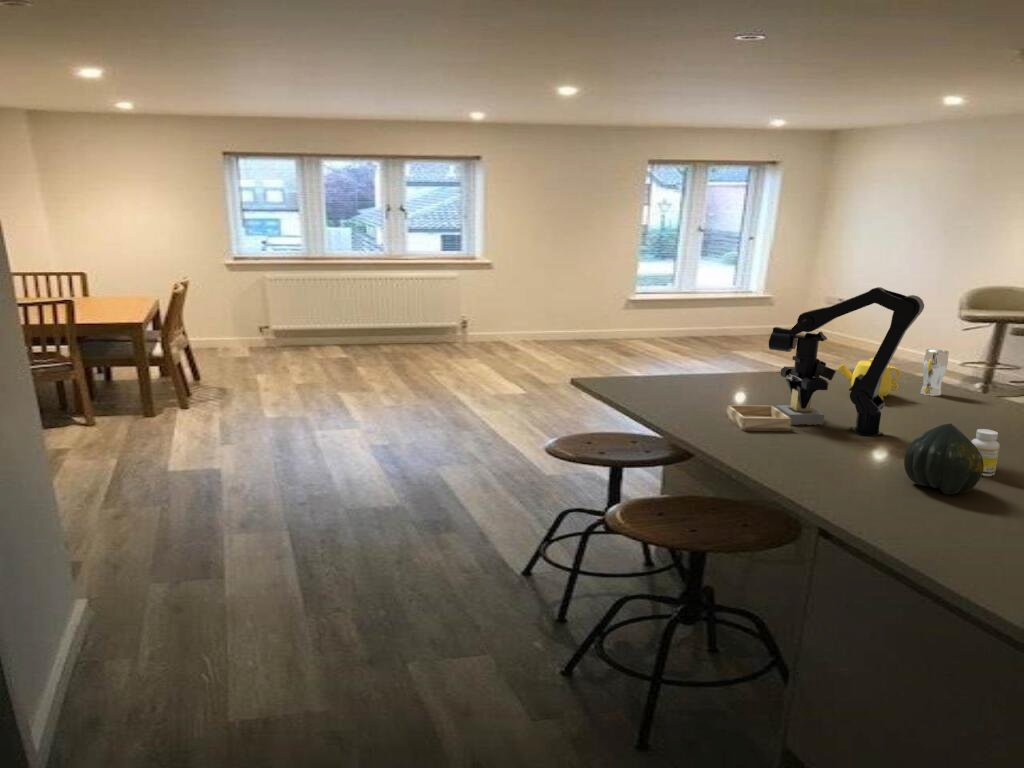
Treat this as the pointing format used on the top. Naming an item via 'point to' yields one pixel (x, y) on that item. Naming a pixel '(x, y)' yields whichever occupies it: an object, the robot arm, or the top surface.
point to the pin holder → (802, 416)
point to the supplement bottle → (987, 449)
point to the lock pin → (798, 403)
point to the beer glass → (934, 371)
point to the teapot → (863, 368)
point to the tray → (758, 418)
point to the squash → (944, 460)
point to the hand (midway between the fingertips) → (800, 406)
